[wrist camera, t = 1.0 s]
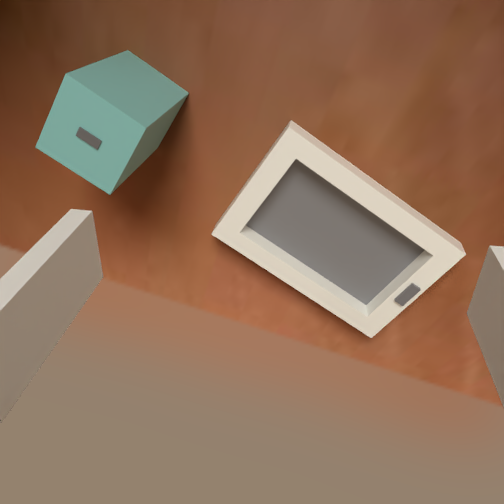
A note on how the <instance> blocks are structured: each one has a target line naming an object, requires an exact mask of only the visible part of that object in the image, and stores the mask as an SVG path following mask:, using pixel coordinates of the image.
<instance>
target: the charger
mask: <svg viewBox="0 0 504 504" xmlns="http://www.w3.org/2000/svg"><path fill="white" fill-rule="evenodd" d="M188 94H189V93H188V92H187V91H185V90H184V89H183V88H181V87H180V86H178V85H177V84H175V83H174V82H173V81H171V80H170V79H168V78H167V77H165V76H164V75H163V74H161V73H160V72H158V71H157V70H155V69H154V68H153V67H151V66H150V65H148V64H147V63H146V62H144V61H143V60H141V59H140V58H138V57H137V56H136V55H134V54H133V53H131V52H130V51H128V50H127V51H125V52H122V53H119V54H117V55H114V56H111V57H109V58H106V59H103V60H101V61H98V62H95V63H93V64H90V65H87V66H85V67H82V68H79V69H77V70H74V71H71V72H69V73H66V74H65V76H64V79H63V81H62V84H61V86H60V89H59V91H58V93H57V96H56V98H55V101H54V103H53V106H52V108H51V110H50V113H49V115H48V118H47V120H46V123H45V125H44V127H43V130H42V132H41V135H40V137H39V140H38V142H37V144H36V148H37V149H39V150H41V151H42V152H44V153H45V154H47V155H48V156H50V157H51V158H53V159H55V160H56V161H58V162H59V163H61V164H62V165H64V166H66V167H67V168H69V169H70V170H72V171H73V172H75V173H77V174H78V175H80V176H81V177H83V178H84V179H86V180H87V181H89V182H91V183H92V184H94V185H95V186H97V187H98V188H100V189H102V190H103V191H105V192H106V193H108V194H109V195H111V194H112V193H113V192H114V191H115V190H116V189H117V188H118V187H119V186H120V185H121V184H122V183H123V182H124V181H125V180H126V179H127V178H128V177H129V176H130V175H131V174H132V173H133V172H134V171H135V170H136V169H137V168H138V167H139V166H140V165H141V164H142V163H143V162H144V161H145V160H146V159H147V158H148V157H149V156H150V155H151V154H152V153H153V152H154V151H155V150H156V149H157V148H158V147H159V145H160V143H161V141H162V140H163V138H164V136H165V134H166V133H167V131H168V129H169V127H170V126H171V124H172V122H173V120H174V118H175V117H176V115H177V113H178V111H179V110H180V108H181V106H182V104H183V103H184V101H185V99H186V97H187V96H188Z"/></svg>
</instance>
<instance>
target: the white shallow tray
mask: <svg viewBox="0 0 504 504" xmlns="http://www.w3.org/2000/svg"><path fill="white" fill-rule="evenodd" d="M212 235H213V236H215V237H216V238H218V239H219V240H221V241H222V242H224V243H226V244H227V245H229V246H230V247H232V248H233V249H235V250H236V251H238V252H239V253H241V254H242V255H244V256H246V257H247V258H249V259H250V260H252V261H253V262H255V263H256V264H258V265H259V266H261V267H262V268H264V269H266V270H267V271H269V272H270V273H272V274H273V275H275V276H276V277H278V278H279V279H281V280H282V281H284V282H286V283H287V284H289V285H290V286H292V287H293V288H295V289H296V290H298V291H299V292H301V293H302V294H304V295H306V296H307V297H309V298H310V299H312V300H313V301H315V302H316V303H318V304H319V305H321V306H322V307H324V308H326V309H327V310H329V311H330V312H332V313H333V314H335V315H336V316H338V317H339V318H341V319H342V320H344V321H346V322H347V323H349V324H350V325H352V326H353V327H355V328H356V329H358V330H359V331H361V332H363V333H364V334H366V335H367V336H369V337H370V338H372V337H373V336H374V335H376V334H377V333H378V332H379V331H380V330H381V329H382V328H383V327H385V326H386V325H387V324H388V323H389V322H390V321H391V320H392V319H394V318H395V317H396V316H397V315H398V314H399V313H400V312H402V311H403V310H404V309H405V308H406V307H407V306H408V305H409V304H411V303H412V302H413V301H414V300H415V299H416V298H417V297H418V296H420V295H421V294H422V293H423V292H424V291H425V290H426V289H428V288H429V287H430V286H431V285H432V284H433V283H434V282H435V281H437V280H438V279H439V278H440V277H441V276H442V275H443V274H444V273H446V272H447V271H448V270H449V269H450V268H451V267H452V266H454V265H455V264H456V263H457V262H458V261H459V260H460V259H461V258H463V257H464V256H465V255H466V253H465V251H464V249H463V247H462V245H461V242H459V241H458V240H456V239H455V238H454V237H452V236H451V235H449V234H448V233H447V232H445V231H444V230H443V229H441V228H440V227H438V226H437V225H436V224H434V223H433V222H431V221H430V220H429V219H427V218H426V217H425V216H423V215H422V214H420V213H419V212H418V211H416V210H415V209H413V208H412V207H411V206H409V205H408V204H407V203H405V202H404V201H402V200H401V199H400V198H398V197H397V196H395V195H394V194H393V193H391V192H390V191H389V190H387V189H386V188H384V187H383V186H382V185H380V184H379V183H377V182H376V181H375V180H373V179H372V178H371V177H369V176H368V175H366V174H365V173H364V172H362V171H361V170H359V169H358V168H357V167H355V166H354V165H353V164H351V163H350V162H348V161H347V160H346V159H344V158H343V157H341V156H340V155H339V154H337V153H336V152H335V151H333V150H332V149H330V148H329V147H328V146H326V145H325V144H323V143H322V142H321V141H319V140H318V139H317V138H315V137H314V136H312V135H311V134H310V133H308V132H307V131H305V130H304V129H303V128H301V127H300V126H299V125H297V124H296V123H294V122H293V121H292V120H291V121H290V122H289V123H288V125H287V126H286V128H285V129H284V130H283V132H282V133H281V134H280V136H279V137H278V139H277V140H276V141H275V143H274V144H273V146H272V147H271V148H270V150H269V151H268V153H267V154H266V155H265V157H264V158H263V160H262V161H261V162H260V164H259V165H258V166H257V168H256V169H255V171H254V172H253V173H252V175H251V176H250V178H249V179H248V180H247V182H246V183H245V185H244V186H243V187H242V189H241V190H240V192H239V193H238V194H237V196H236V197H235V198H234V200H233V201H232V203H231V204H230V205H229V207H228V208H227V210H226V211H225V212H224V214H223V215H222V217H221V218H220V219H219V221H218V222H217V224H216V225H215V228H214V230H213V232H212Z"/></svg>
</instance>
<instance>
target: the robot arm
mask: <svg viewBox="0 0 504 504" xmlns="http://www.w3.org/2000/svg"><path fill="white" fill-rule="evenodd" d="M102 278H103V273H102V267H101V261H100V255H99V249H98V242H97V236H96V230H95V224H94V218H93V212H92V211H88V210H76V209H71V210H70V211H69V212H68V213H66V214H65V215H64V216H63V217H62V218H61V219H60V220H59V221H58V222H57V223H56V224H55V225H54V226H53V227H52V228H51V229H50V230H49V231H48V232H47V233H46V234H45V235H44V236H43V237H42V238H41V239H40V240H39V241H38V242H37V243H36V244H35V245H34V246H33V247H32V248H31V249H30V250H29V251H28V252H27V253H26V254H25V255H24V256H23V257H22V258H21V259H20V260H19V261H18V262H17V263H16V264H15V265H14V266H13V267H12V268H11V269H10V270H9V271H8V272H7V273H6V274H5V275H4V276H3V277H2V278H1V279H0V422H2V421H3V420H4V419H5V417H6V415H7V414H8V413H9V411H10V410H11V409H12V407H13V406H14V404H15V403H16V401H17V400H18V398H19V397H20V396H21V394H22V393H23V391H24V390H25V388H26V387H27V386H28V384H29V383H30V381H31V380H32V378H33V377H34V376H35V374H36V373H37V371H38V370H39V368H40V367H41V365H42V364H43V363H44V361H45V360H46V358H47V357H48V355H49V354H50V353H51V351H52V350H53V348H54V347H55V345H56V344H57V342H58V341H59V340H60V338H61V337H62V335H63V334H64V333H65V331H66V330H67V328H68V327H69V325H70V324H71V322H72V321H73V320H74V318H75V317H76V315H77V314H78V312H79V311H80V310H81V308H82V307H83V305H84V304H85V302H86V301H87V299H88V298H89V297H90V295H91V294H92V292H93V291H94V289H95V288H96V287H97V285H98V284H99V282H100V281H101V279H102ZM467 316H468V318H469V321H470V323H471V326H472V328H473V331H474V333H475V336H476V338H477V341H478V343H479V346H480V349H481V351H482V354H483V356H484V359H485V361H486V364H487V366H488V369H489V371H490V374H491V376H492V379H493V382H494V384H495V387H496V389H497V392H498V394H499V397H500V399H501V402H502V404H503V407H504V247H501V246H489V249H488V252H487V255H486V258H485V261H484V264H483V267H482V270H481V273H480V276H479V279H478V282H477V285H476V288H475V291H474V294H473V297H472V299H471V302H470V305H469V308H468V311H467Z"/></svg>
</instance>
